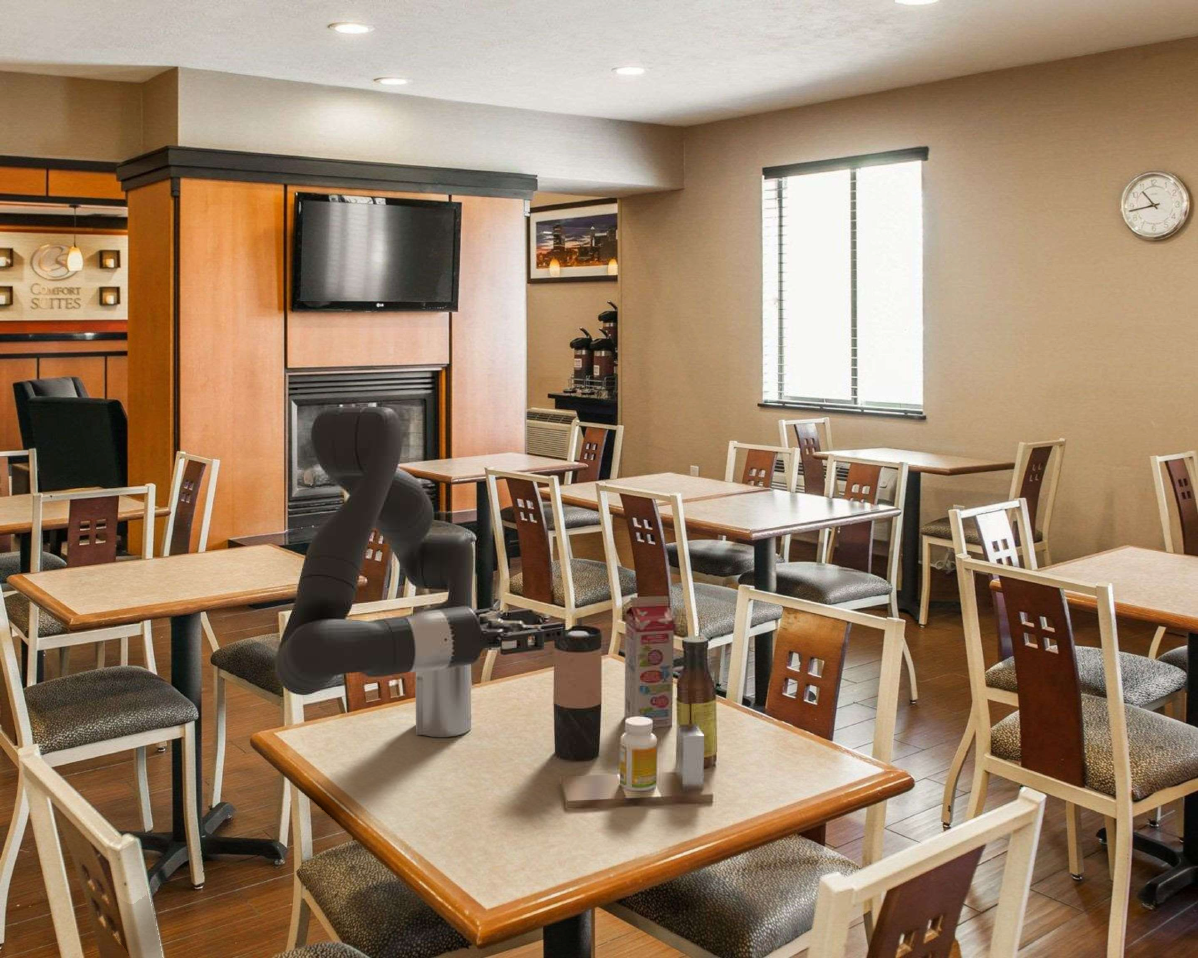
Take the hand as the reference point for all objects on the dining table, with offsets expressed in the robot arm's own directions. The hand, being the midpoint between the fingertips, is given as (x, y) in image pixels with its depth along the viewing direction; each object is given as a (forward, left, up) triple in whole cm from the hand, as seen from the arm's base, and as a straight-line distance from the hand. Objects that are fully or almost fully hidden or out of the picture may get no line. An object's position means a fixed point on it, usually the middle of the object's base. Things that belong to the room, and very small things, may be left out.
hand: (547, 623), depth 155 cm
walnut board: (+14, +8, -28) cm, 32 cm away
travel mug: (+7, +25, -28) cm, 38 cm away
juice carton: (+21, +39, -28) cm, 53 cm away
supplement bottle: (+14, +8, -27) cm, 31 cm away
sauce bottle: (+25, +19, -28) cm, 42 cm away
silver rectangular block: (+22, +8, -27) cm, 35 cm away
